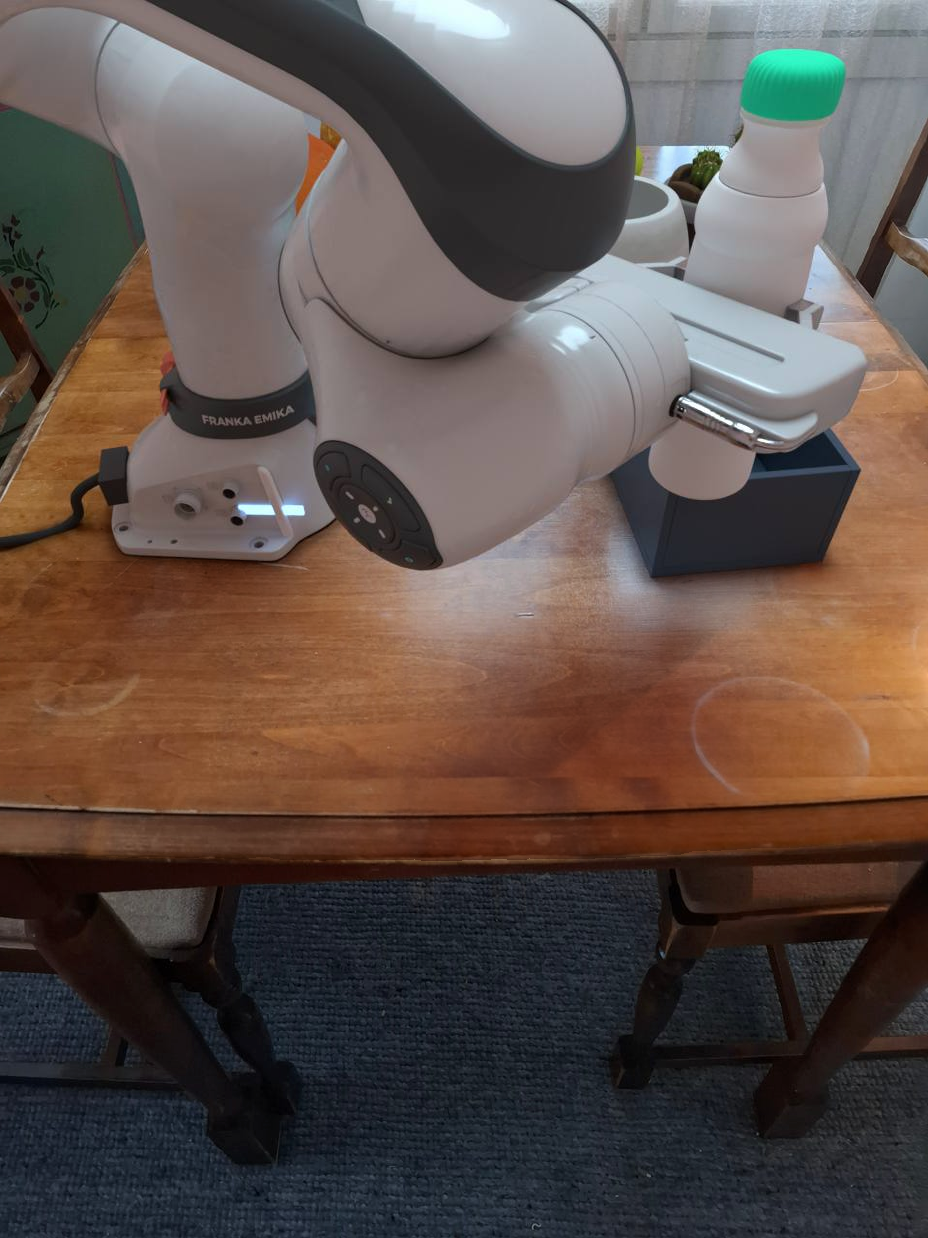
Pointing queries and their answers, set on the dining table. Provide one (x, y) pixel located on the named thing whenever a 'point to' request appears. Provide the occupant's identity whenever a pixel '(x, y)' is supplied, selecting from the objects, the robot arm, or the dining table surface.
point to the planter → (652, 225)
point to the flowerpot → (696, 181)
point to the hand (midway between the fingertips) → (747, 291)
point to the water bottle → (757, 234)
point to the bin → (742, 512)
